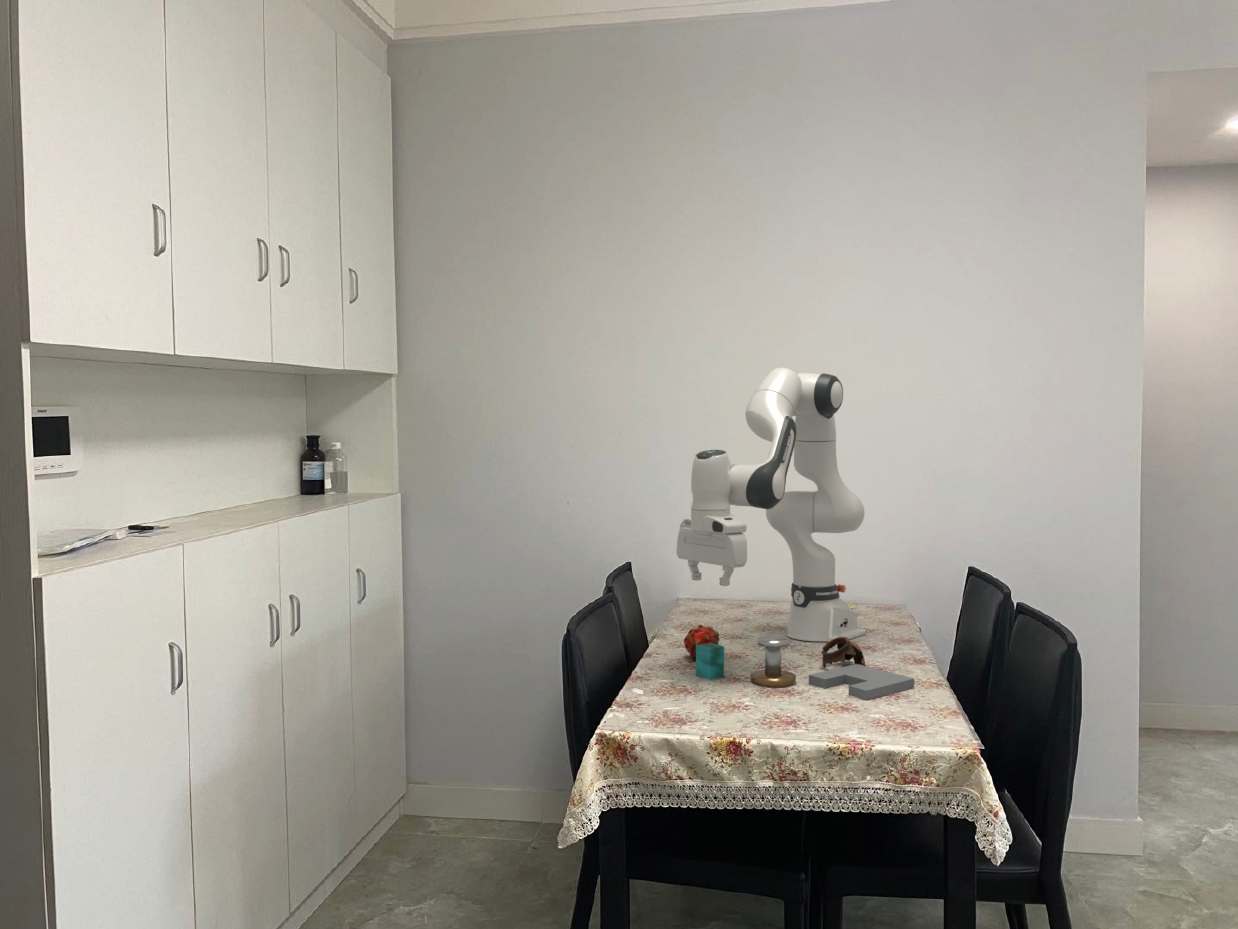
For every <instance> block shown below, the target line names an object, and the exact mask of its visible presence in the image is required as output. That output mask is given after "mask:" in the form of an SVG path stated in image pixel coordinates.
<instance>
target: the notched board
mask: <svg viewBox="0 0 1238 929" xmlns="http://www.w3.org/2000/svg"><path fill="white" fill-rule="evenodd" d="M808 685H811V686H815V687H818V688H823V689H827V688H832V687H837V686H840V685H848V696H850V697H854V698H858V699H862V700H864V701H869V700H872V699H875V698H879V697H884V696H887V695H892V694H895V693H900V692H904V691H906V690H910V689H914V688H915V678H914V677H909V676H905V675H901V674H897V673H893V672H889V671H886V670H882V669H878V668H873V667H870V666H863V665H858V664H854V663H853V664H851V665H848V666H842V667H836V668H833V669H829V670H824V671H820V672H815V673H811V674H808Z"/></svg>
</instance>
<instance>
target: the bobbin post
mask: <svg viewBox="0 0 1238 929" xmlns="http://www.w3.org/2000/svg"><path fill="white" fill-rule="evenodd" d="M756 643H757V645H758V646H761V647H764V669H757V670H754V671H752V672H751V673H750V674H749V675H750V678H749V680H750V683H751V684H753V685H755V686H759V687H762V688H771V689H772V688H773V689H778V688H779V689H781V688H788V687H792V686H794V685H796V683H797V680H796V679H797V676H796V674H795V673H793V672H791V671H788V670H785V669H784V670H783V669H782V648H786V647H789V646H790V639H789V637H785V636H784V637H783V636H779V635H766V636H764V635H763V636H759V637H757V640H756Z"/></svg>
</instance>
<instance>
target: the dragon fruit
mask: <svg viewBox="0 0 1238 929" xmlns="http://www.w3.org/2000/svg"><path fill="white" fill-rule="evenodd" d="M720 640H721V638H720V634H719V632H718V631H716V630H714V628H713V626H704V625H703V624H698V626H697V628H695V627H694V628H691V629H690V630H689V631H688V632H687V635H686V636H685V637H684V639H683V642H684V648H685V649H686V651H687V652H688V654H690V658H691V660H692V661H696V645H702V644H707V643H713V644H717V645H720V644H719V642H720Z"/></svg>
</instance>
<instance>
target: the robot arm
mask: <svg viewBox="0 0 1238 929" xmlns="http://www.w3.org/2000/svg"><path fill="white" fill-rule="evenodd" d="M843 402H844V387H843V384H842V382H841V380H839V378H838V377H837V376H836V375H833V374H829V373H824V372H823V373H813V372H811V373H810V372H799V373H796V371H794V370H793V369H790V368H788V367H776V368H773V369H772V370H771V371H769V372H768V373H767V375H765V377H764V378H763V379H762V381H760V383H759V384H758V386H757V388H756V389H755V391H754V393H753V394H752V395H751V397H750V399H749V402H748V403H747V405H746V409H745V421H746V423H747V425H748V427H749V429H750V430H751V431H752V432H753V433H754V435H756V436H758V437H759V438H760V439H762V440H764V441H765V440H766V441H768V442H771V444H770V448H769V451H768V454H767V459H766V461H763V462H762V463H758V464H746V463H745V464H744V463H741V464H739V463H735V462H733V461H731V460H730V459H729V455H728V452H727V451H726V450H724V449H710V450H703V451H699V452H698V453H696V454H695V456H694V458H693V462H692V467H691V468H692V469H691V479H690V480H691V481H690V482H691V484H690V491H691V495H692V503H691V506H690V519H687V518H686V519H684V520H683V521H682V522H681V523H680V524H679V530H678V533H677V534H678V535H677V541H676V556H677V557H678V559H681V560H687V565H688V567H689V570H690V572H691V580H692V581H696V582H698V581H702V572H700V570H699V567H698V565H699V563H703V564H710V565H716V566H722V572H723V575H722V577H719V584H718V585H719V586H722V587H728V586H730V584H731V583H730V581H731V577H732V575H733V572H734V571H735V569H736V568H743V567H745V565H746V564H747V560H748V541H747V536H746V535H745V534H744V533H745V532H747V523H746V522H745V521H743V520H741V519H739V518H738V517H736V516H735V515H733V514H732V513H731V506H737V507H751V508H756V509H763V510H765V516H766V520H767V522H768V524H769V525H770V527H772V529H774V530H775V531H777V532H778V534H780V536H782V538H783V539H784V540H785V542H786V544H787V545H788V546H787V547H788V548H789V550H790V553H791V559H792V561H791V562H792V577H793V578H792V583H791V588H790V592H791V593H790V595H791V598H792V599H791V600H792V601H791V602H790V609H789V617H788V625H787V626H786V636H787V638H790V639H794V640H800V641H804V642H805V641H807V642H827V643H828V642H829V641H831V640H833V639H835V638H838V637H847V638H848V639H849V640H850V639H851V640H852V639H854V638H857V637H861V636H863V635H866V634H867V631H866V629H864V628H862V627H859V626H858V621H857V620H858V618H857V613H856V611H855V610H854V609H853V608H852V607H850V606H849V605H848V603H846V602H845V601H844V600H842V599H841V596H840V593H842V594H843V593H845V592H846V591H847V588H846V587H847V586H846V585H845V584H836V558H835V555H834V553H833V552H832V551H831V550H830V549H828V548H827V547H825V546H823V545H822V544H819V543H817V542H816V541H815V540H814V539H813V537H812V534H814V533H818V534H819V533H820V534H821V533H822V534H825V533H826V534H828V533H829V534H842V533H848V532H854V531H857V530H859V528H860V527H861V526H862V523H863V521H864V519H865V508H864V507H865V506H864V504H863V502H862V500H861V498H859V496H857V495H856V494H855V493H854V492H852V491H851V490H850V489H849V487H847V485H846V484H845V483H844V481H843V479H842V477H841V475H840V472H839V468H838V459H837V431H836V429H837V428H836V418H835V414H836V413H837V412H838V411H839V409H840V408H841V406H842V404H843ZM793 417H795V419H794V418H793ZM792 456H793V467H794V470H795V471H796V472H797V473H798V474H799V475H800V476H802V477H804V478H806V479H807V480H810V481H811V482H813V483H814V484H815V485H816V488H817V490H816V491H815V490H814V491H804V490H803V491H800V490H799V491H798V490H790V491H785V490H786V484H787V483H786V482H787V476H788V472H789V467H790V464H791V460H792ZM734 568H735V569H734ZM839 592H840V593H839Z"/></svg>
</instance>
